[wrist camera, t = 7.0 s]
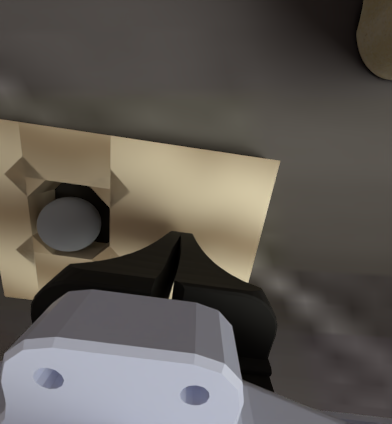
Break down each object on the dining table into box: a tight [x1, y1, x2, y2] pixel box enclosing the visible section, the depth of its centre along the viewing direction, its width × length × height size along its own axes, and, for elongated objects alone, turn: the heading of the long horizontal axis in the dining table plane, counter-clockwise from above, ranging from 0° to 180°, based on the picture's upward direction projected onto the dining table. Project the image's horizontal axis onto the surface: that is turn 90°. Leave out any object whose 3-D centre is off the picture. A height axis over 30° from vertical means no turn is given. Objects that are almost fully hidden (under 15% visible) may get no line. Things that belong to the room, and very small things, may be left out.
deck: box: [0, 119, 280, 300], centre depth 14 cm, size 12×17×2 cm
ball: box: [37, 197, 101, 252], centre depth 13 cm, size 4×4×4 cm
